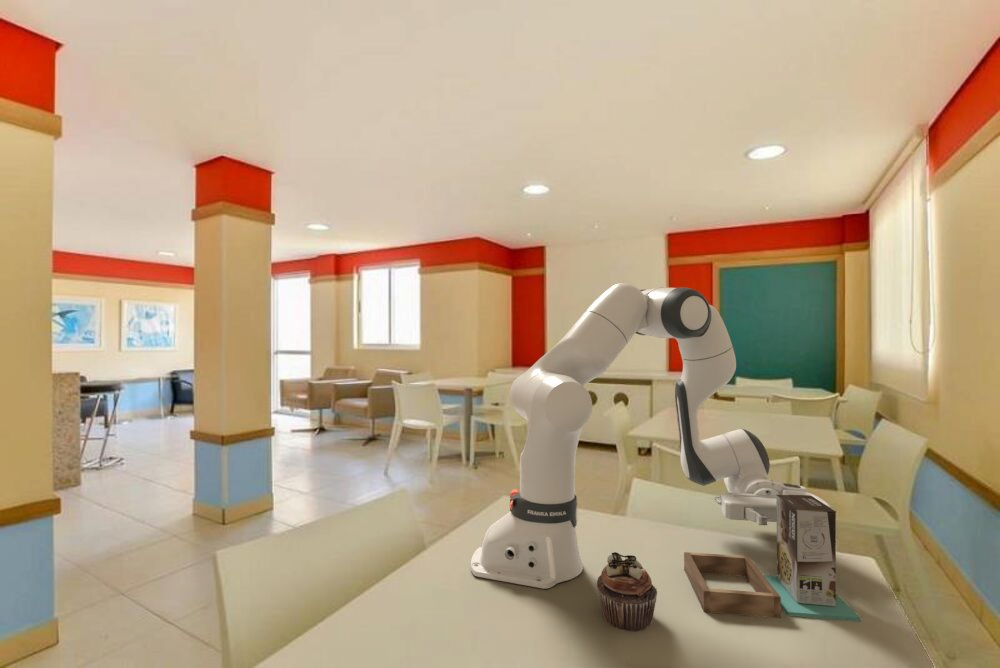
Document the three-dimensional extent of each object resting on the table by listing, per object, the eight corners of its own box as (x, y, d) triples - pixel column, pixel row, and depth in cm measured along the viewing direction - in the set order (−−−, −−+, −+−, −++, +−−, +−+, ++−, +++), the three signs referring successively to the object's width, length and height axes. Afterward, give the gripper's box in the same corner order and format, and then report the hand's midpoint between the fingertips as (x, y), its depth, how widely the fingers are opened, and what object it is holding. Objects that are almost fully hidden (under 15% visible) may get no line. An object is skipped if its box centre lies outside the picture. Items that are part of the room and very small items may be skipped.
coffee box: (838, 607, 82) (837, 511, 82) (796, 604, 83) (796, 509, 83) (812, 580, 91) (812, 494, 91) (775, 578, 92) (775, 492, 92)
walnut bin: (703, 611, 82) (703, 590, 82) (684, 569, 97) (684, 552, 97) (780, 618, 80) (780, 596, 80) (748, 574, 95) (748, 556, 95)
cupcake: (663, 637, 75) (663, 571, 75) (599, 632, 76) (599, 568, 76) (651, 603, 84) (651, 545, 85) (594, 599, 86) (594, 542, 86)
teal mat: (787, 615, 81) (787, 611, 81) (758, 577, 94) (758, 574, 94) (860, 621, 79) (860, 617, 79) (820, 581, 92) (820, 578, 92)
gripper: (712, 482, 108) (731, 503, 95) (812, 486, 105) (847, 508, 91) (712, 510, 108) (732, 536, 95) (812, 515, 105) (847, 542, 91)
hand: (789, 522), depth 93 cm, fingers open, 8 cm apart
